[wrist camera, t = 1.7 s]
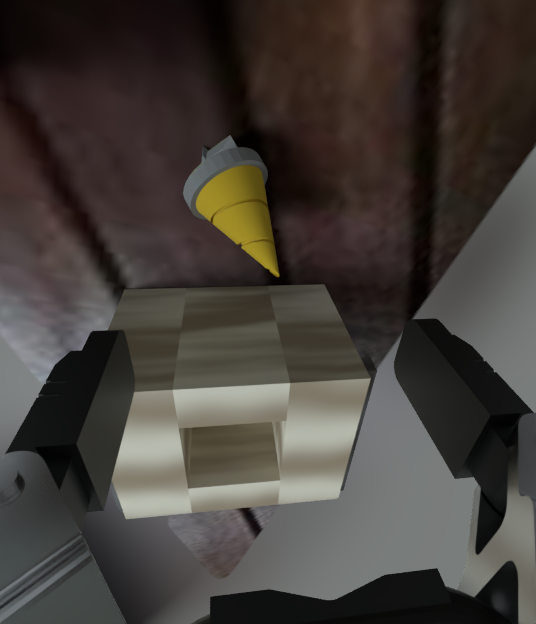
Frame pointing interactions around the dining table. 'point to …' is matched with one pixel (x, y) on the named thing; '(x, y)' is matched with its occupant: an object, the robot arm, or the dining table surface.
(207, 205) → the drill bit
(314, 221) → the dining table surface
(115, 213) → the dining table surface
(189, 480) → the socket block
